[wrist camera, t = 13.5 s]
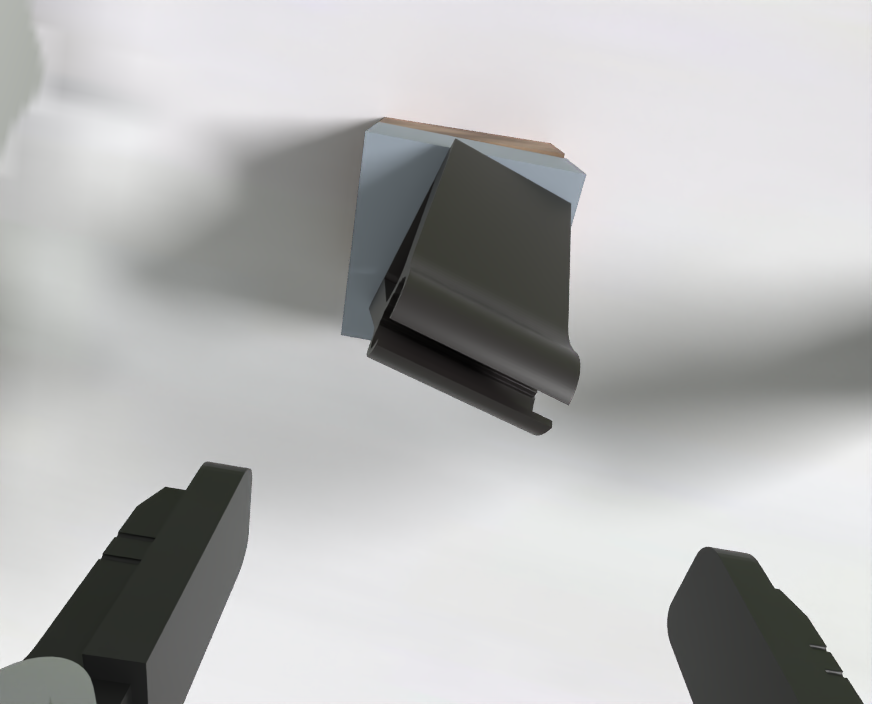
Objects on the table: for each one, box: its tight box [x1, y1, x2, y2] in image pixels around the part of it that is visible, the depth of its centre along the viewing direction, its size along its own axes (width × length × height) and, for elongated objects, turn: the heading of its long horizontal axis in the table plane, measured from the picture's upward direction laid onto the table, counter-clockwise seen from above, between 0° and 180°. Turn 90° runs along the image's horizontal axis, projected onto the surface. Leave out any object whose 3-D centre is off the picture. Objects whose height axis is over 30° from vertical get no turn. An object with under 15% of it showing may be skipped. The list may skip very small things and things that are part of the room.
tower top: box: [341, 122, 586, 340], centre depth 30 cm, size 10×10×5 cm
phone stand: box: [367, 138, 580, 435], centre depth 22 cm, size 9×6×12 cm, turn 152°
